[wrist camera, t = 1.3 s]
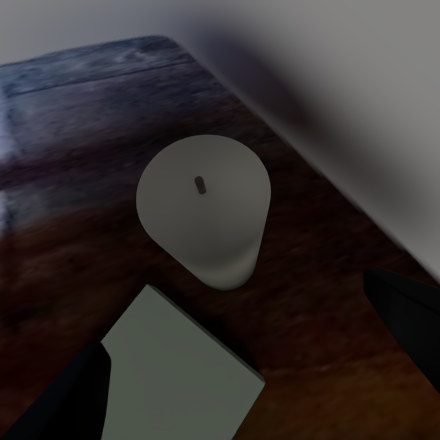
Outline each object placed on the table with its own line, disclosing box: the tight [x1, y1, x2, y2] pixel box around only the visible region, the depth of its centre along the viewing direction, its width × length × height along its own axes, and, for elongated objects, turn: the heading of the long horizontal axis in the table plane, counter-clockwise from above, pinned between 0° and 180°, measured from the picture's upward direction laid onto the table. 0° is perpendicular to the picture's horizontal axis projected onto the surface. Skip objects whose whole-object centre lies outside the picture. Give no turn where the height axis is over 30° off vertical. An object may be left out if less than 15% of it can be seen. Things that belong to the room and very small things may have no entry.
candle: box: [136, 135, 271, 291], centre depth 15 cm, size 5×5×13 cm
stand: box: [101, 284, 265, 440], centre depth 17 cm, size 10×10×2 cm
